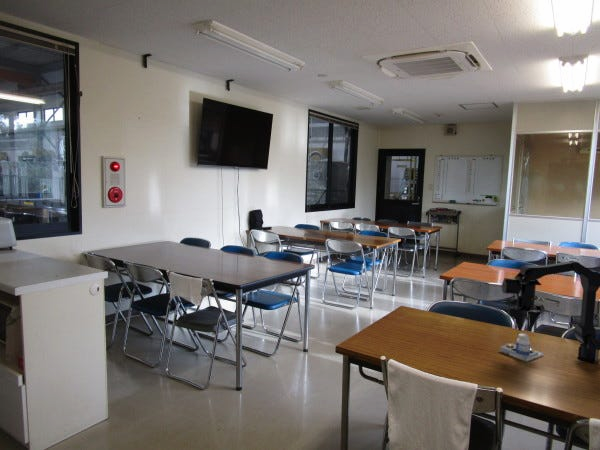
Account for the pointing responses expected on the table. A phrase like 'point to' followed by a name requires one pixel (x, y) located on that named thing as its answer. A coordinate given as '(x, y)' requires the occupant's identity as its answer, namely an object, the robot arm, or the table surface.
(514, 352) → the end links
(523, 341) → the pill bottle
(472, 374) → the table surface
